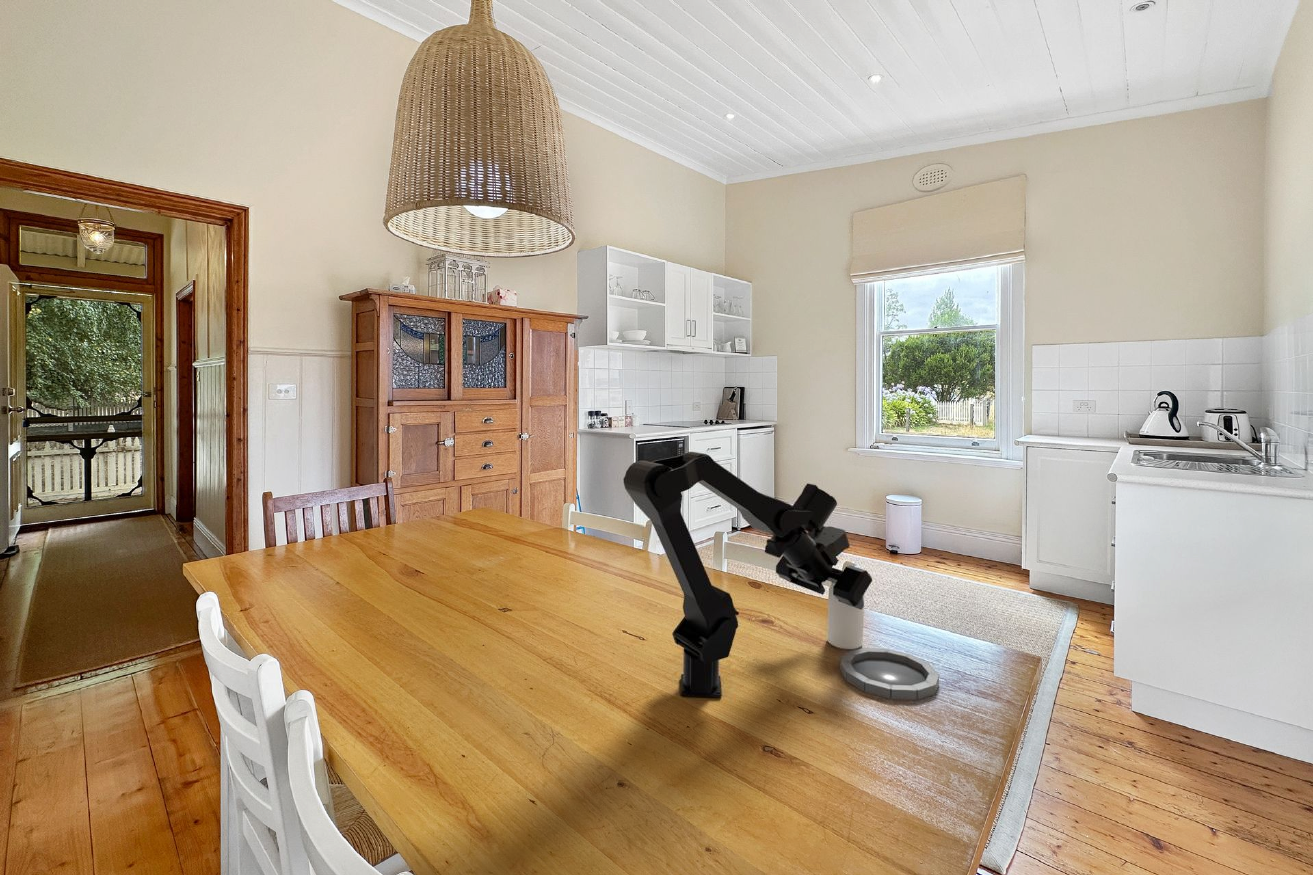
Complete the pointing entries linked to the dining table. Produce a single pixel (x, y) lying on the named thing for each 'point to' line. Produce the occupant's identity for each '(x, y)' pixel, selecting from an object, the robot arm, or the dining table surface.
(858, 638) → the can
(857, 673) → the round gray tray
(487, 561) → the dining table surface
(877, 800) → the dining table surface
